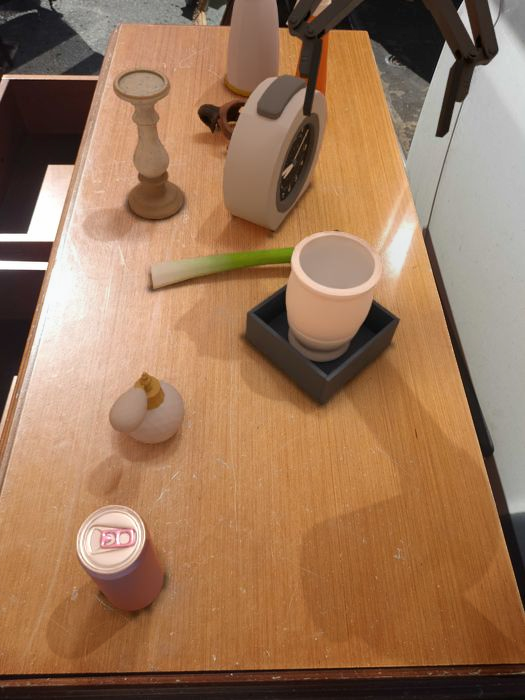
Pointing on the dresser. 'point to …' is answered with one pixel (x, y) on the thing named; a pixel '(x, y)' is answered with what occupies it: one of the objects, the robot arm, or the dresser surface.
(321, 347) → the jar
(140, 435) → the perfume bottle
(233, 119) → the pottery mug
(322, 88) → the spray bottle
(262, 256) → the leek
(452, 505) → the dresser surface
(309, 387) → the tray
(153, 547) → the beverage can
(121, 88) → the candle holder
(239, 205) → the alarm clock
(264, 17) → the soap bottle
